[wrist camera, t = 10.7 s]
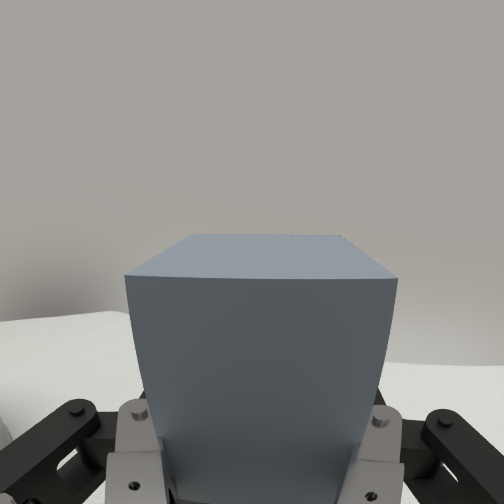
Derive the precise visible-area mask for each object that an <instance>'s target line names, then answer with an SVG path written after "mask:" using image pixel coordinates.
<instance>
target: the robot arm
mask: <svg viewBox="0 0 504 504" xmlns="http://www.w3.org/2000/svg"><path fill="white" fill-rule="evenodd" d="M74 449H76V450H77V452H78V453H77V454H75V455H74V456H73V457H72V458H71V459H70V460H69V461H68V462H66V463H65V464H64V465H63V466H62V467H61V468H60V469H59V470H57V466H58V464H59V462H60V461H61V460H63V459H64V458H65V457H66V456H67V455H68V454H69V453H71V452H72V451H73V450H74ZM443 463H444V464H445V465H446V466H447V467H448V468H449V469H450V471H451V472H452V473H453V474H454V475H455V476H456V478H457V480H458V482H457V481H456V480H455V479H454V477H453V476H452V475H451V474H450V473H449V472H448V470H447V469H446V468H445V467H444V466H443ZM105 480H106V485H105V504H209V503H202V502H195V501H188V500H182V499H180V497H179V492H178V486H177V483H176V480H175V478H171V476H170V473H169V470H168V465H167V459H166V451H165V445H164V442H163V438H162V436H157V435H156V433H155V429H154V426H153V422H152V419H151V415H150V411H149V407H148V403H147V399H146V395H145V391H143V393H142V394H141V396H140V398H139V399H133V400H130V401H127V402H126V403H124V404H123V405H122V406H121V407H120V408H119V411H118V412H97V410H96V407H95V405H94V404H93V403H92V402H91V401H89V400H85V399H74V400H70V401H68V402H66V403H64V404H63V405H62V406H60V407H59V408H58V409H56V410H55V411H54V412H52V413H51V414H50V415H48V416H47V417H45V418H44V419H43V420H41V421H40V422H39V423H37V424H36V425H35V426H33V427H32V428H30V429H29V430H28V431H26V432H25V433H24V434H22V435H21V436H20V437H18V438H17V439H15V440H14V441H13V442H12V439H11V436H10V434H9V432H8V430H7V428H6V427H5V425H4V423H3V421H2V420H1V418H0V504H82V503H83V502H84V501H85V500H86V499H87V498H88V497H89V496H90V495H91V494H92V493H93V492H94V491H95V490H96V489H97V488H98V487H99V486H100V485H101V484H102V483H103V482H104V481H105ZM403 481H404V482H405V484H406V485H407V486H408V488H409V489H410V491H411V492H412V493H413V495H414V496H415V498H416V499H417V500H418V502H419V503H420V504H504V456H503V455H502V454H501V453H500V452H499V451H498V450H497V449H496V448H495V447H494V446H493V445H491V444H490V443H489V442H488V441H487V440H486V439H485V438H484V437H483V436H482V435H481V434H480V433H479V432H477V431H476V430H475V429H474V428H473V427H472V426H471V425H470V424H469V423H468V422H467V421H465V420H464V419H463V418H462V417H461V416H460V415H459V414H458V413H456V412H454V411H452V410H448V409H438V410H434V411H432V412H431V413H429V414H428V416H427V418H426V420H425V421H417V420H406V419H402V417H401V415H400V413H399V412H398V411H397V410H396V409H394V408H392V407H390V406H386V404H385V401H384V399H383V397H382V395H381V393H380V391H379V388H378V389H377V393H376V397H375V400H374V404H373V408H372V411H371V415H370V418H369V421H368V425H367V428H366V431H365V434H364V437H363V440H362V442H356V443H354V444H353V447H352V450H351V453H350V457H349V460H348V464H347V468H346V471H345V474H344V477H343V480H342V483H341V484H339V487H338V490H337V492H336V495H335V498H334V501H333V504H400V503H401V495H402V487H403Z"/></svg>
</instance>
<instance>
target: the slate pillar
mask: <svg viewBox="0 0 504 504" xmlns="http://www.w3.org/2000/svg"><path fill="white" fill-rule="evenodd" d="M124 276H125V284H126V293H127V300H128V307H129V314H130V320H131V327H132V332H133V338H134V344H135V349H136V354H137V359H138V364H139V369H140V374H141V378H142V383H143V387H144V391H145V395H146V399H147V403H148V407H149V411H150V415H151V419H152V422H153V426H154V429H155V433H156V435H157V436H162V438H163V442H164V445H165V451H166V459H167V465H168V470H169V473H170V476H171V478H175V480H176V483H177V486H178V492H179V497H180V499H182V500H188V501H195V502H202V503H209V504H333V501H334V498H335V495H336V492H337V490H338V487H339V484H341V483H342V480H343V477H344V474H345V471H346V468H347V464H348V460H349V457H350V453H351V450H352V447H353V444H354V443H356V442H362V440H363V437H364V434H365V431H366V428H367V425H368V421H369V418H370V415H371V411H372V408H373V404H374V400H375V397H376V393H377V389H378V385H379V381H380V377H381V373H382V368H383V364H384V359H385V355H386V350H387V344H388V339H389V334H390V329H391V323H392V317H393V311H394V304H395V297H396V290H397V282H398V278H397V277H396V276H394V275H393V274H392V273H390V272H389V271H388V270H386V269H385V268H384V267H382V266H381V265H380V264H379V263H377V262H376V261H374V260H373V259H372V258H371V257H369V256H368V255H367V254H365V253H364V252H362V251H361V250H360V249H358V248H357V247H356V246H354V245H353V244H352V243H350V242H349V241H347V240H346V239H345V238H343V237H342V236H340V235H246V234H244V235H241V234H240V235H237V234H235V235H234V234H233V235H232V234H230V235H229V234H227V235H225V234H224V235H223V234H220V235H218V234H216V235H215V234H213V235H212V234H211V235H210V234H207V235H205V234H203V235H202V234H200V235H199V234H197V235H190V236H188V237H187V238H185V239H183V240H181V241H180V242H178V243H176V244H175V245H173V246H171V247H170V248H168V249H166V250H165V251H163V252H161V253H160V254H158V255H156V256H155V257H153V258H151V259H150V260H148V261H146V262H145V263H143V264H142V265H140V266H138V267H137V268H135V269H134V270H132V271H130V272H129V273H127V274H125V275H124Z"/></svg>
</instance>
